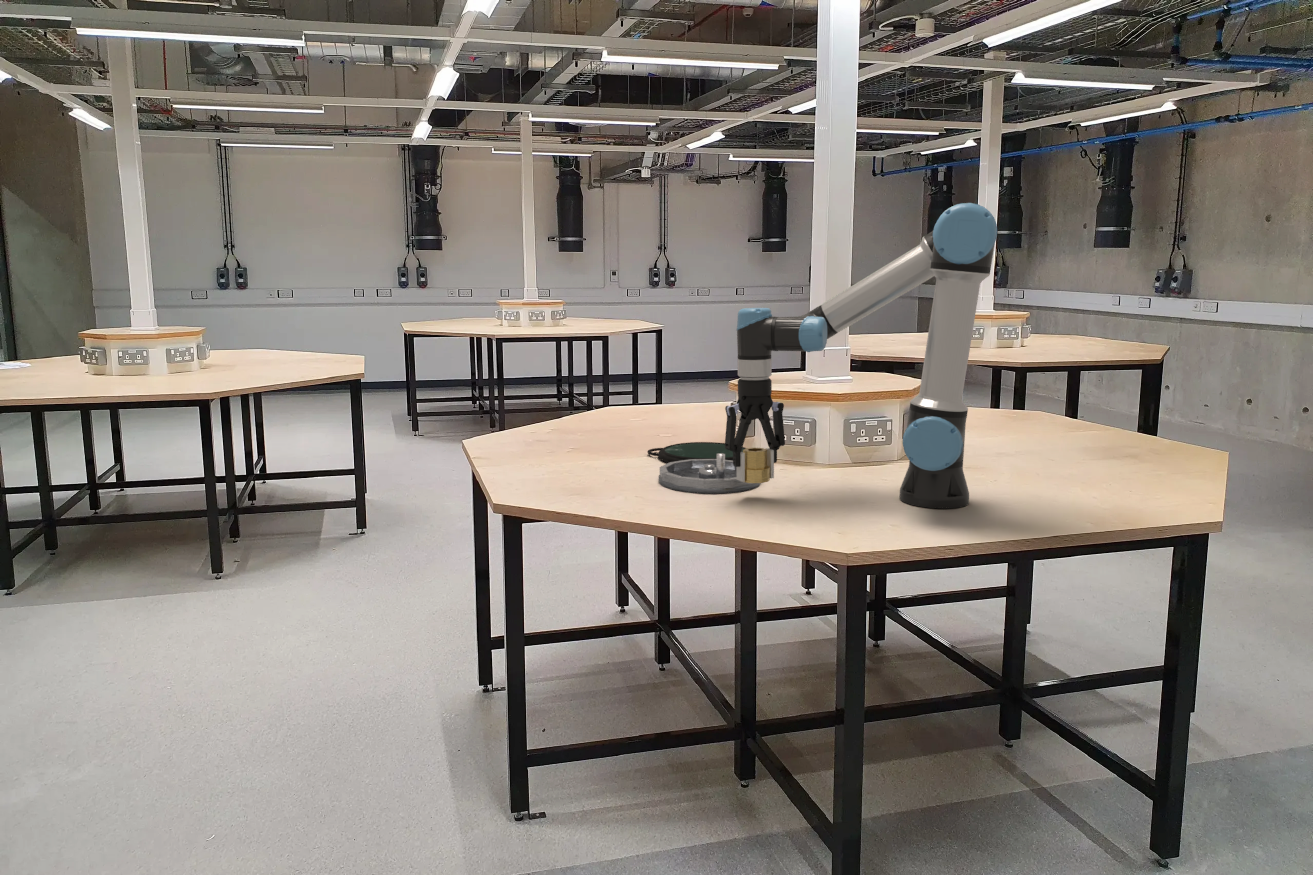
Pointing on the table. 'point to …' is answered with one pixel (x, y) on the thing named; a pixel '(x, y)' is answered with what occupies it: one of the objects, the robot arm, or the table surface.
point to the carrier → (703, 476)
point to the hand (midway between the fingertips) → (755, 478)
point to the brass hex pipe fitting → (756, 465)
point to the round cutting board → (692, 451)
